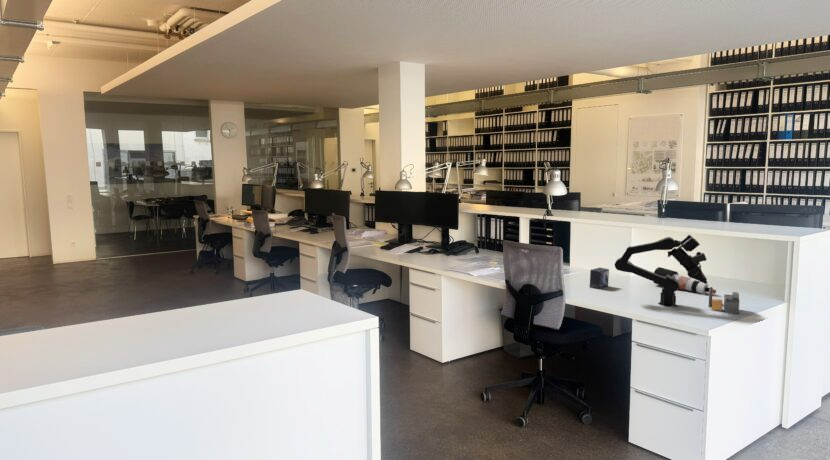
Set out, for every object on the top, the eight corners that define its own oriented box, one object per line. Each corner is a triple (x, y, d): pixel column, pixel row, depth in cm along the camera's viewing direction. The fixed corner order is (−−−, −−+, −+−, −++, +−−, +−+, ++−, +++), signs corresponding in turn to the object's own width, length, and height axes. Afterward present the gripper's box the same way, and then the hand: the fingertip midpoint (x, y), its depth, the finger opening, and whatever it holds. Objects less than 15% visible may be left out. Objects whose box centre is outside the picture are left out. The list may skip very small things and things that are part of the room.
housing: (724, 312, 269) (726, 294, 268) (723, 307, 278) (724, 290, 277) (738, 314, 266) (739, 295, 265) (736, 309, 275) (738, 291, 274)
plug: (708, 309, 274) (709, 287, 273) (708, 307, 278) (709, 286, 277) (723, 310, 271) (724, 289, 270) (722, 308, 275) (724, 287, 274)
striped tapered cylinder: (711, 304, 302) (709, 290, 297) (653, 286, 328) (651, 273, 324) (720, 293, 306) (719, 279, 301) (663, 277, 332) (661, 263, 328)
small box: (599, 289, 320) (599, 271, 318) (589, 287, 324) (589, 269, 323) (609, 286, 326) (609, 268, 325) (598, 284, 331) (599, 267, 330)
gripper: (696, 250, 267) (721, 275, 264) (696, 244, 284) (719, 268, 280) (677, 265, 271) (701, 289, 268) (678, 258, 288) (700, 281, 285)
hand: (706, 281), depth 275 cm, fingers open, 7 cm apart
